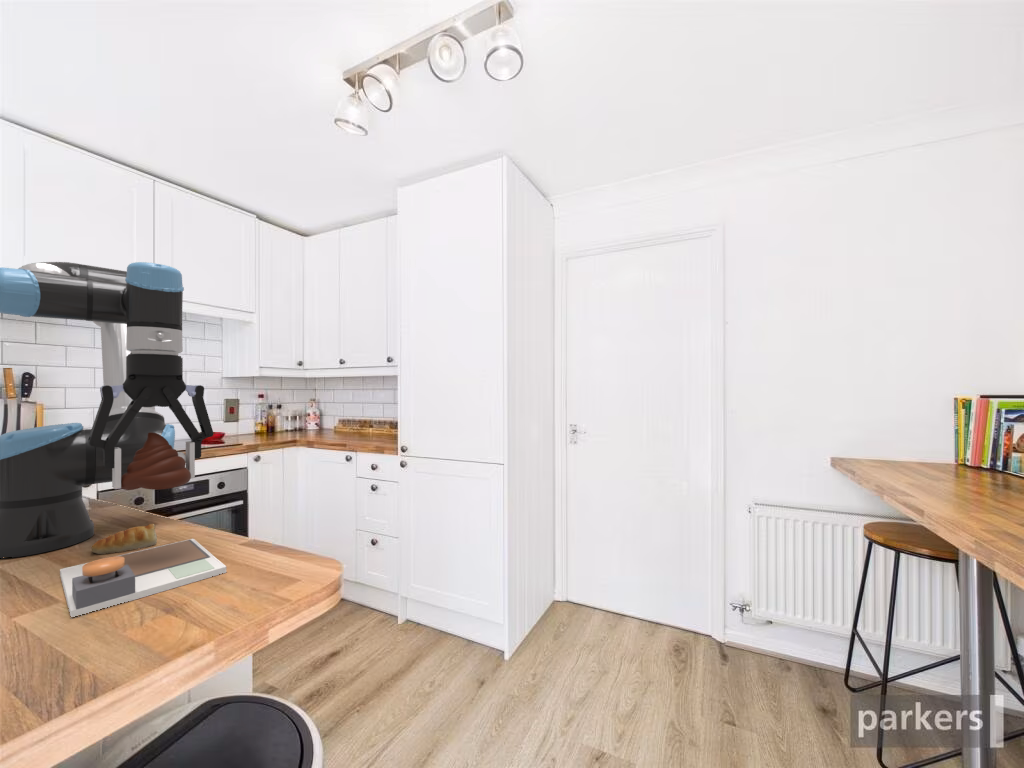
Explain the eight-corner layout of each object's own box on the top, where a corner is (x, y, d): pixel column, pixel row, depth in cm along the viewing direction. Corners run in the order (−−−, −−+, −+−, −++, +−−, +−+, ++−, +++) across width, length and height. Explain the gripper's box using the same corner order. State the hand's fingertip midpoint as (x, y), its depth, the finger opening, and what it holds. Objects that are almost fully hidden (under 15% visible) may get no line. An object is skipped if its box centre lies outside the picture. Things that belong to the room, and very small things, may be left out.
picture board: (59, 575, 69) (60, 554, 69) (193, 543, 83) (193, 525, 83) (71, 618, 56) (71, 592, 56) (226, 572, 70) (226, 551, 70)
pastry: (91, 560, 76) (91, 539, 76) (91, 550, 80) (91, 530, 80) (159, 546, 82) (159, 526, 82) (155, 537, 87) (154, 519, 87)
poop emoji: (104, 492, 68) (104, 435, 68) (146, 480, 77) (145, 429, 77) (169, 491, 69) (168, 434, 69) (203, 479, 77) (203, 429, 77)
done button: (80, 586, 61) (80, 563, 61) (121, 576, 64) (121, 553, 64) (84, 596, 58) (84, 572, 58) (126, 584, 61) (126, 561, 61)
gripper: (65, 348, 62) (65, 499, 62) (234, 356, 79) (234, 474, 79) (62, 351, 67) (61, 490, 67) (221, 357, 84) (221, 469, 84)
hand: (155, 482), depth 73 cm, fingers closed on poop emoji, 9 cm apart
